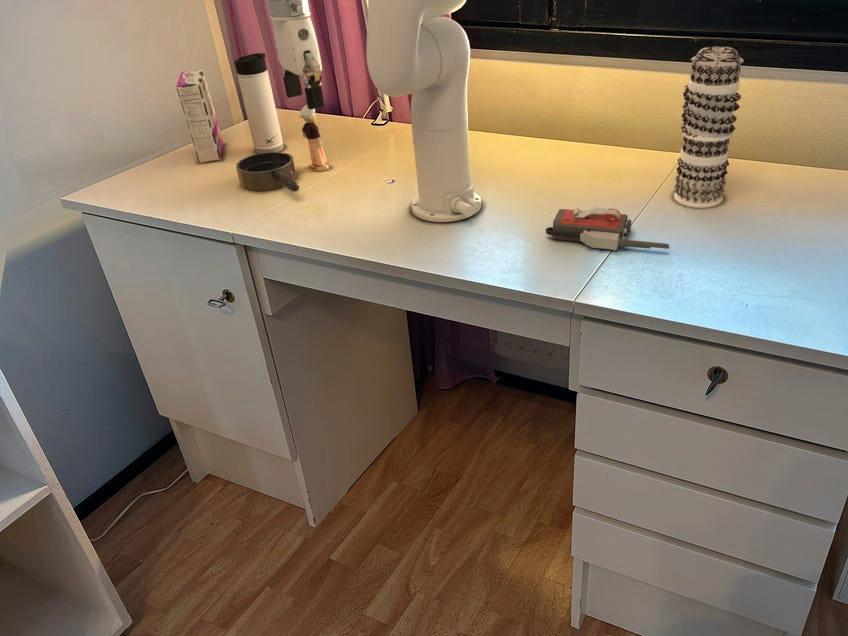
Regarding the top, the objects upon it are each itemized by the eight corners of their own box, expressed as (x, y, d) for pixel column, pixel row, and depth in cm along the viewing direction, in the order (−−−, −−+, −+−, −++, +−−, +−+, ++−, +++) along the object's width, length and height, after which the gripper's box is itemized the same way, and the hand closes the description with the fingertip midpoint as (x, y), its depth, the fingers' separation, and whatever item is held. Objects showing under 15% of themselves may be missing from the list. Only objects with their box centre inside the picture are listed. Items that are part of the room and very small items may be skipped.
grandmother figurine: (337, 167, 151) (326, 105, 143) (322, 173, 148) (310, 111, 141) (315, 159, 155) (303, 99, 147) (300, 165, 153) (287, 104, 145)
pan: (305, 181, 146) (302, 162, 143) (253, 197, 141) (248, 177, 138) (283, 166, 153) (279, 147, 151) (232, 180, 148) (227, 161, 146)
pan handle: (301, 191, 136) (299, 182, 135) (292, 194, 135) (290, 184, 134) (280, 176, 143) (278, 167, 142) (271, 178, 142) (269, 170, 141)
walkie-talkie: (541, 245, 119) (667, 258, 113) (542, 220, 116) (670, 232, 111) (554, 221, 125) (673, 232, 120) (554, 197, 123) (676, 208, 117)
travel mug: (278, 155, 158) (257, 58, 147) (250, 154, 160) (227, 58, 148) (290, 144, 163) (270, 50, 152) (262, 144, 165) (241, 50, 153)
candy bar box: (201, 146, 165) (180, 71, 156) (224, 143, 166) (204, 68, 156) (197, 164, 156) (174, 85, 147) (221, 161, 157) (200, 82, 147)
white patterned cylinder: (661, 200, 130) (677, 52, 116) (688, 183, 136) (706, 40, 121) (708, 213, 125) (730, 60, 110) (734, 195, 130) (758, 47, 116)
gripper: (328, 11, 130) (342, 108, 140) (287, -3, 141) (303, 88, 152) (289, 18, 126) (306, 117, 137) (251, 3, 138) (269, 95, 148)
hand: (305, 101), depth 144 cm, fingers open, 9 cm apart
